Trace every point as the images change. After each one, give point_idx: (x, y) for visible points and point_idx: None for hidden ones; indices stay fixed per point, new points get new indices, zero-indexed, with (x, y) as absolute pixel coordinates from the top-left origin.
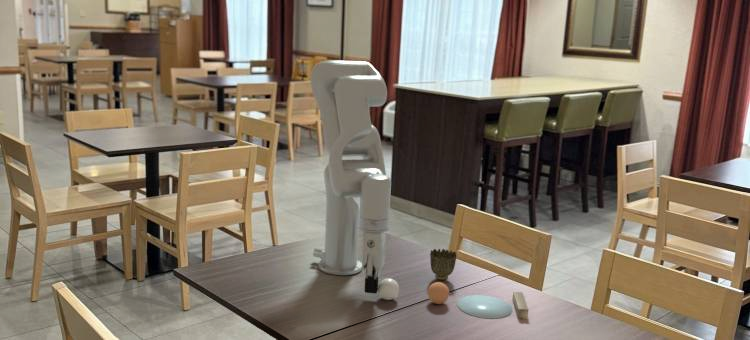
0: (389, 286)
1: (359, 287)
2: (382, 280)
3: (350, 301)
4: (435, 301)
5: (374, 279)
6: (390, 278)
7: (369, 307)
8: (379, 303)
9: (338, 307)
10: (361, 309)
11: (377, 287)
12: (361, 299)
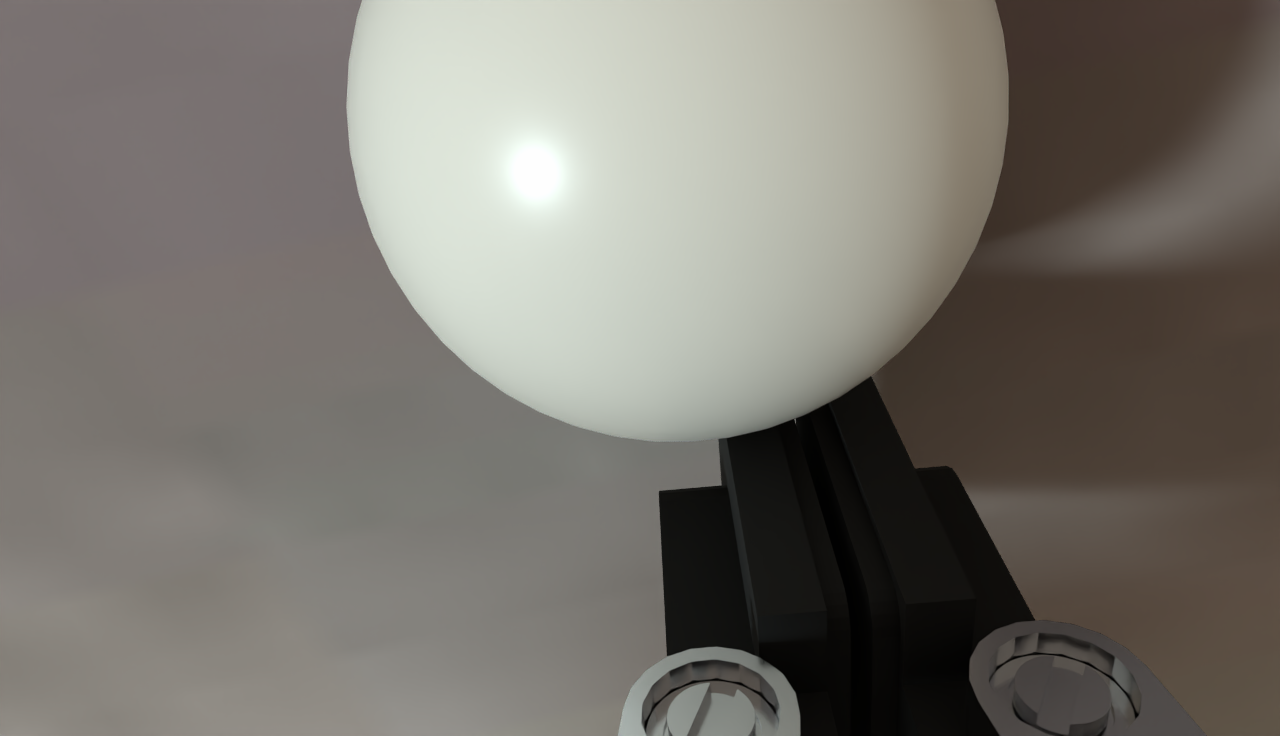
0: (996, 92)
1: (333, 667)
2: (694, 418)
3: None
4: None
5: (965, 655)
6: (543, 199)
7: (1166, 326)
8: None
9: (1214, 724)
10: (1268, 429)
11: None
12: None
